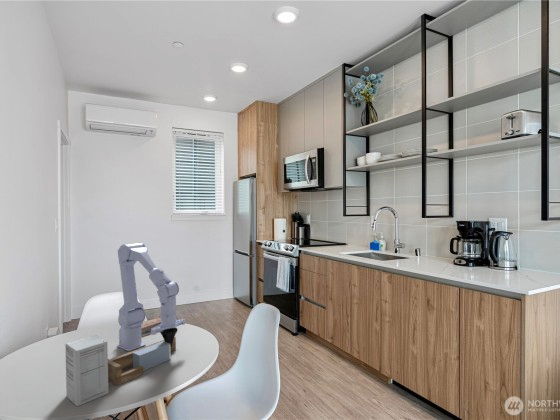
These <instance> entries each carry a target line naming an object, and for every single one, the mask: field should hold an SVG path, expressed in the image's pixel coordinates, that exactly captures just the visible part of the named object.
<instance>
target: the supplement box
mask: <svg viewBox="0 0 560 420" xmlns="http://www.w3.org/2000/svg"><path fill="white" fill-rule="evenodd" d="M64 345H65V381H66V382H65V384H66V386H65V387H66V388H65V389H66V390H65V391H66V393H65V395H66V398H68V400H70V401H71V402H72V403H73V404H74V405H75V406H76V407H79V406H82V405H84V404H87V403H90V402H91V401H93V400H96V399H98V398H101V397H103V396H106V395H108V394H109V381H108V359H109V357H108V356H109V355H108V354H109V353H108V351H109V350H108V341H107V340H106V339H104V338H102V337H100V336H98V335H97V334H94V335H90V336H87V337H83V338H80V339H76V340H74V341H70V342H67V343H65V344H64Z"/></svg>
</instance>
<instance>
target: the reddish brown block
mask: <svg viewBox="0 0 560 420" xmlns="http://www.w3.org/2000/svg"><path fill="white" fill-rule="evenodd" d="M160 324H161V317H156V318H151V319H150V320H146V321H145V320H144V321H143V324H141V337H142V338H143V337H146V336H149V335H152V334H151V329H152V328H154V327H156V326H158V325H160Z"/></svg>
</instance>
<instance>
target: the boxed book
mask: <svg viewBox="0 0 560 420" xmlns="http://www.w3.org/2000/svg"><path fill="white" fill-rule="evenodd" d="M156 343H157V342H156ZM171 353H172V351H171V349H170V343H167V342H164V341H163V342H160V343H157V344H155V345H152V346H149V347H147V348H144V349H141V350H138V351H136V352H133V367H132V369H135V368H137V367H139V366H142V367H143V372H144V371H146V370H149V369H151V368H153V367H155V366H157V365H160V364H162V363H164V362H167V361H169V360H171Z"/></svg>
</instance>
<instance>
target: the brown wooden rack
mask: <svg viewBox="0 0 560 420" xmlns="http://www.w3.org/2000/svg"><path fill="white" fill-rule="evenodd" d="M176 339H177V337H176V336H175V337H174V339H173V343H172V347H171V348H170V349H171V352H173V351H175V350H176V347H177V342H176V341H177V340H176ZM163 341H164V339H162V340H160V341H157V342H153V343H151V344H149V345H145V346H142V347H140V348H137V349H134V350H131V351H128V352H127V353H123V354H122V355H119V356H115V357H113V358H110V359H109V358H108V382H110V383H112V384H114V385H116V386H119V385H121V384H123V383H125V382H128V381H131V380H132V379H136V378H137V377H139V376H142V375H144V371H143V367H142V366H139V367H137V368H135V369H133V352H136V351H138V350H141V349H144V348H147V347H149V346H152V345H155V344H157V343H160V342H163ZM164 342H165V341H164ZM130 368H132V369H130ZM128 369H130V370H128ZM126 370H128V371H126ZM123 371H125V372H123ZM122 372H123V373H122Z"/></svg>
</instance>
